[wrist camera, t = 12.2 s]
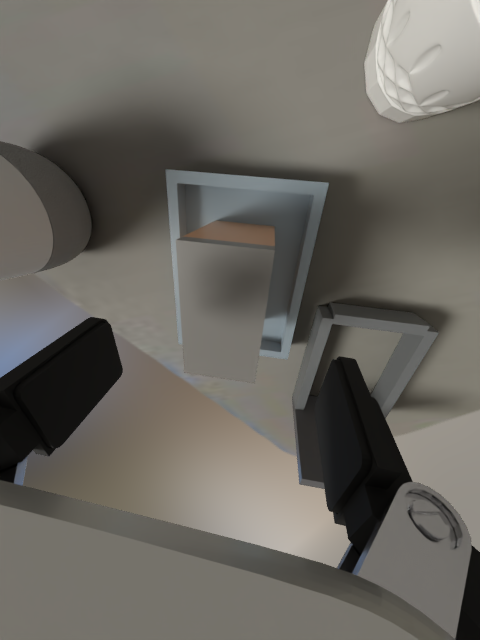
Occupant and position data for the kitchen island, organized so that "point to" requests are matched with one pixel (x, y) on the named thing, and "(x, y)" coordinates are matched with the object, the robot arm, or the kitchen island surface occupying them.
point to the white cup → (424, 58)
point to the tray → (262, 209)
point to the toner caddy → (224, 297)
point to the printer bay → (387, 388)
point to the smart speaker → (38, 214)
